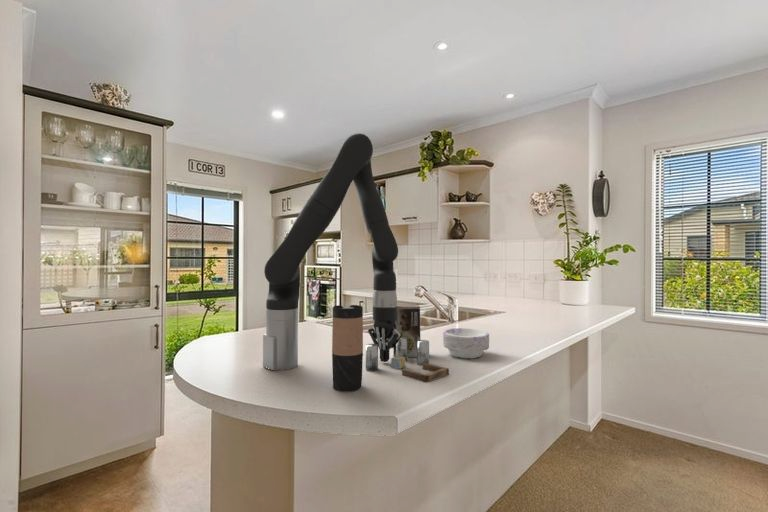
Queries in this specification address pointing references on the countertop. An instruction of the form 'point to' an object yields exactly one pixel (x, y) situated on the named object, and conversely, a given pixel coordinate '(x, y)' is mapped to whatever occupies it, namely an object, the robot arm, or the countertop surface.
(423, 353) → the spacer
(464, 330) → the marble bowl
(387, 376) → the countertop surface
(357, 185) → the robot arm
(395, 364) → the alphabet block
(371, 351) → the spacer
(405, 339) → the block
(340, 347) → the travel mug
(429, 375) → the tray
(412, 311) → the coffee box
